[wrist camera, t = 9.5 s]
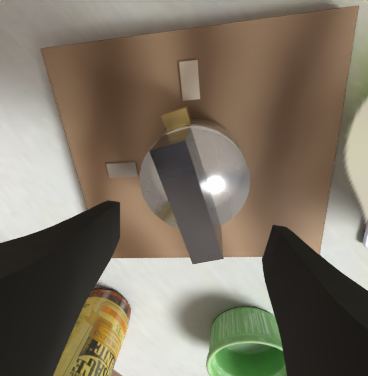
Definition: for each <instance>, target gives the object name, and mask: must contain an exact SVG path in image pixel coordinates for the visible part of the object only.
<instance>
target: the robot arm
mask: <svg viewBox="0 0 368 376" xmlns="http://www.w3.org/2000/svg"><path fill="white" fill-rule="evenodd" d="M119 239H120V202H116V201H109V200H107V201H105V202H102V203H100V204H98V205H96V206H94V207H92V208H90V209H88V210H86V211H84V212H82V213H80V214H78V215H76V216H74V217H72V218H70V219H68V220H65V221H63V222H61V223H59V224H56V225H54V226H52V227H49V228H47V229H44V230H41V231H39V232H36V233H33V234H30V235H27V236H24V237H20V238H17V239H13V240H10V241H6V242H3V243H0V376H53V375H54V373H55V370H56V368H57V365H58V363H59V361H60V358H61V356H62V353H63V351H64V349H65V346H66V344H67V342H68V339H69V337H70V335H71V333H72V330H73V328H74V326H75V324H76V321H77V319H78V317H79V315H80V313H81V311H82V308H83V306H84V304H85V302H86V300H87V299H88V297H89V295H90V293H91V291H92V290H93V288H94V286H95V285H96V283H97V281H98V280H99V278H100V276H101V275H102V273H103V271H104V270H105V268H106V266H107V264H108V263H109V261H110V259H111V258H112V256H113V254H114V251H115V249H116V247H117V244H118V242H119ZM363 245H364V246H365V247H366V248H368V221H367V226H366V230H365V234H364V238H363ZM262 264H263V272H264V278H265V283H266V286H267V290H268V294H269V297H270V301H271V304H272V308H273V311H274V315H275V318H276V322H277V325H278V329H279V334H280V338H281V343H282V349H283V355H284V360H285V367H286V373H287V376H368V291H367V290H366V289H364V288H363V287H361V286H360V285H358V284H357V283H356V282H354V281H353V280H351V279H350V278H348V277H347V276H346V275H344V274H343V273H341V272H340V271H339V270H338V269H336V268H335V267H334V266H332V265H331V264H330V263H329V262H327V261H326V260H325V259H324V258H323V257H321V256H320V255H319V254H318V253H317V252H315V251H314V250H313V249H312V248H311V247H310V246H309V245H307V244H306V243H305V242H304V241H303V240H302V239H301V238H299V237H298V236H297V235H296V234H295V233H294V232H292V231H291V230H290V229H289V228H287V227H285V226H278V225H273V226H272V229H271V232H270V236H269V239H268V242H267V245H266V248H265V252H264V255H263V258H262Z"/></svg>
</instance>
